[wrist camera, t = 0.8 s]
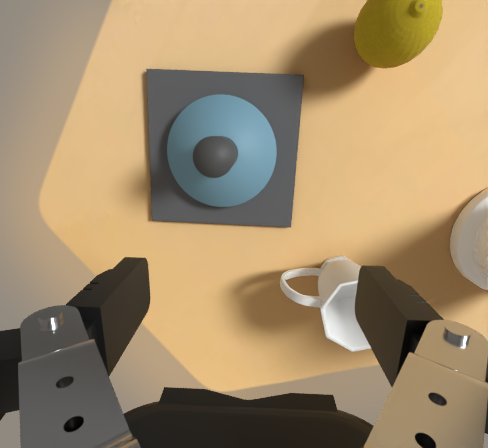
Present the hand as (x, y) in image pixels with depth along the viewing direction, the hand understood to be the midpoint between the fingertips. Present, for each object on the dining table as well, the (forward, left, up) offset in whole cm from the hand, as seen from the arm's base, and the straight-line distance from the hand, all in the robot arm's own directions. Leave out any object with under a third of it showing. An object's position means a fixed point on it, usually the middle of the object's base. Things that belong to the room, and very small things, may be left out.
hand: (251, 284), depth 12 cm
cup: (+8, +8, -21) cm, 24 cm away
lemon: (-14, +10, -21) cm, 27 cm away
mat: (-4, -3, -20) cm, 21 cm away
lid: (-4, -3, -20) cm, 20 cm away
